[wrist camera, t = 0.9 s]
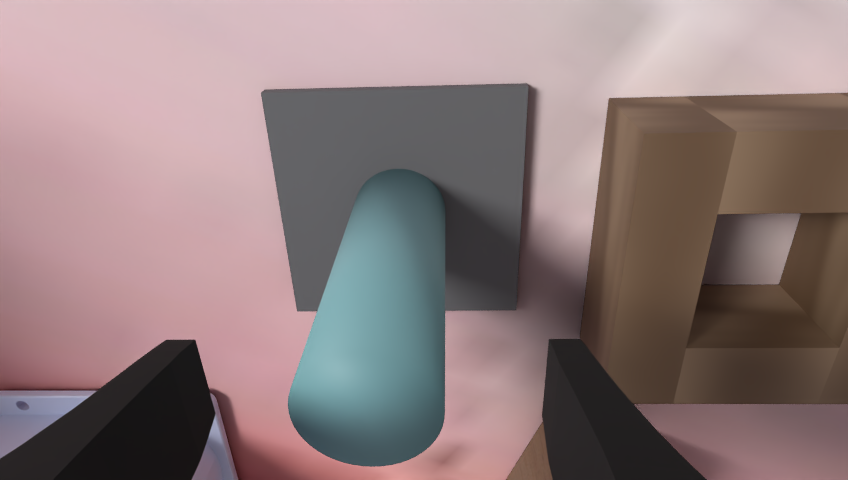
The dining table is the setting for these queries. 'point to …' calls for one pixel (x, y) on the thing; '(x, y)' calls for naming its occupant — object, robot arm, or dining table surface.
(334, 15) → the dining table surface
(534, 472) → the wooden block
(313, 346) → the peg
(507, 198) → the mat
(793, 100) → the hole block
